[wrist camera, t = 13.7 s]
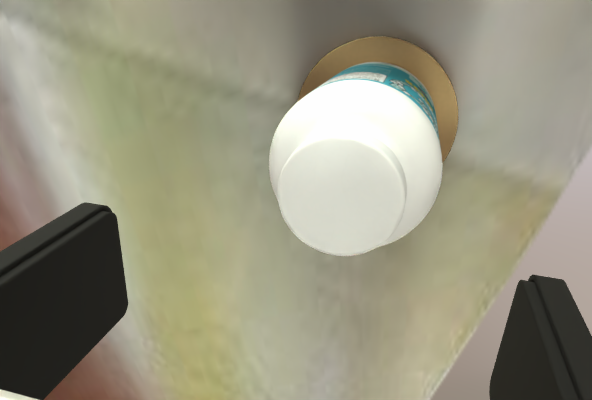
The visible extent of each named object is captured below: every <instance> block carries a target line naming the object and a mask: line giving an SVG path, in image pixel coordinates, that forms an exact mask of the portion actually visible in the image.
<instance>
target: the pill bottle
mask: <svg viewBox="0 0 592 400" xmlns="http://www.w3.org/2000/svg"><path fill="white" fill-rule="evenodd" d="M442 167H443V165H442V154H441V146H440V140H439V133H438V125H437V118H436V112H435V108H434V104H433V101H432V98H431V96H430V94H429V93H428V91H427V89H426V88H425V86H424V85H423V84H422V83H421V82H420V81H419V80H418V79H417V78H416V77H415V76H414V75H413V74H411V73H410V72H409V71H407V70H405V69H403V68H401V67H399V66H396V65H393V64H390V63H385V62H366V63H361V64H357V65H354V66H351V67H349V68H347V69H345V70H343V71H341V72H340V73H338V74H337V75H335V76H334V77H332V78H331V79H329V80H328V81H326V82H325V83H323V84H322V85H320V86H319V87H317V88H316V89H314V90H313V91H311V92H310V93H308V94H307V95H306V96H304V97H303V98H302V99H300V100H299V101H298V102H297V103H296V104H295V105H294V106H293V107H292V108H291V109H290V110H289V111H288V112H287V114H286V115H285V116H284V118H283V119H282V121H281V122H280V124H279V126H278V128H277V130H276V132H275V134H274V137H273V140H272V144H271V148H270V154H269V173H270V179H271V184H272V187H273V191H274V193H275V196H276V198H277V200H278V203H279V208H280V211H281V214H282V216H283V219H284V221H285V222H286V224H287V226H288V227H289V228H290V230H291V231H292V232H293V233H294V234H295V235H296V236H297V238H299V239H300V240H301V241H302V242H303V243H305V244H306V245H308V246H309V247H311V248H313V249H315V250H317V251H320V252H322V253H326V254H330V255H336V256H354V255H359V254H363V253H366V252H369V251H371V250H373V249H375V248H377V247H380V246H384V245H387V244H390V243H392V242H394V241H396V240H398V239H400V238H402V237H403V236H405V235H406V234H408V233H409V232H410V231H412V230H413V229H414V228H415V227H416V226H417V225H418V224H419V223H420V222H421V221H422V220H423V219H424V218H425V216H426V215H427V214H428V212H429V211H430V209H431V208H432V206H433V204H434V202H435V200H436V198H437V195H438V192H439V189H440V185H441V180H442Z"/></svg>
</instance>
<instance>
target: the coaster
mask: <svg viewBox="0 0 592 400" xmlns="http://www.w3.org/2000/svg"><path fill="white" fill-rule="evenodd" d="M366 62H385V63H390V64H393V65H396V66H399V67H401V68H403V69H405V70H407V71H409V72H410V73H411V74H413V75H414V76H415V77H416V78H417V79H418V80H419V81H420V82H421V83H422V84H423V85H424V86H425V88H426V89H427V91H428V93H429V94H430V96H431V98H432V101H433V104H434V108H435V112H436V118H437V125H438V133H439V140H440V146H441V154H442V163H443V162H444V160H445V159H446V157H447V155H448V153H449V152H450V150H451V147H452V145H453V142H454V140H455V136H456V132H457V125H458V106H457V100H456V96H455V92H454V89H453V86H452V84H451V82H450V80H449V78H448V76H447V74H446V73H445V71H444V70H443V68H442V67H441V66H440V64H439V63H438V62H437V61H436V60H435V59H434V58H433V57H432V56H431V55H429V54H428V53H427V52H426V51H424V50H423V49H421V48H419V47H418V46H416V45H414V44H412V43H409V42H407V41H404V40H401V39H397V38H392V37H385V36H373V37H366V38H360V39H357V40H353V41H350V42H348V43H346V44H344V45H341V46H339V47H338V48H336V49H334V50H333V51H331V52H330V53H328V54H327V55H326V56H325V57H323V58H322V59H321V60H320V61H319V62H318V63H317V64H316V65H315V66H314V68H313V69H312V71H311V72H310V73H309V75H308V76H307V78H306V80H305V82H304V84H303V86H302V89H301V91H300V94H299V98H298V101H299V100H300V99H302V98H303V97H304V96H306V95H307V94H308V93H310V92H311V91H313V90H314V89H316V88H317V87H319V86H320V85H322V84H323V83H325V82H326V81H328V80H329V79H331V78H332V77H334V76H335V75H337V74H338V73H340V72H341V71H343V70H345V69H347V68H349V67H351V66H354V65H357V64H361V63H366Z"/></svg>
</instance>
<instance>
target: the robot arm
mask: <svg viewBox="0 0 592 400" xmlns="http://www.w3.org/2000/svg"><path fill="white" fill-rule="evenodd" d="M127 307H128V298H127V291H126V283H125V276H124V268H123V260H122V253H121V245H120V238H119V230H118V223H117V217H116V215H115V214H114V213H112V211H111V209H110V208H109V207H108V206H104V205H98V204H92V203H82V204H80V205H78V206H77V207H75V208H73V209H72V210H70V211H68V212H67V213H65V214H63V215H62V216H60V217H58V218H56V219H55V220H53V221H51V222H50V223H48V224H46V225H45V226H43V227H41V228H40V229H38V230H36V231H34V232H33V233H31V234H29V235H28V236H26V237H24V238H23V239H21V240H19V241H17V242H16V243H14V244H12V245H11V246H9V247H7V248H6V249H4V250H2V251H1V252H0V400H44V398H45V397H46V396H47V395H48V394H49V393H50V392H51V391H52V390H53V389H54V388H55V387H56V386H57V385H58V384H59V383H60V382H61V381H62V380H63V379H64V378H65V377H66V376H67V375H68V373H69V372H70V371H71V370H72V369H73V368H74V367H75V366H76V365H77V364H78V363H79V362H80V361H81V360H82V359H83V358H84V357H85V356H86V355H87V354H88V353H89V352H90V351H91V349H92V348H93V347H94V346H95V345H96V344H97V343H98V342H99V341H100V340H101V339H102V338H103V337H104V336H105V335H106V334H107V333H108V332H109V331H110V330H111V329H112V328H113V327H114V326H115V324H116V323H117V322H118V321H119V320H120V319H121V318H122V317H123V316H124V315H125V313H126V310H127ZM490 400H592V336H591V334H590V332H589V330H588V328H587V326H586V324H585V322H584V320H583V318H582V316H581V313H580V312H579V309H578V307H577V305H576V303H575V301H574V299H573V297H572V295H571V293H570V291H569V289H568V287H567V285H566V283H565V281H564V280H562V279H556V278H550V277H543V276H537V275H532V276H530V278H529V280H528V281H525V280H520V281H519V283H518V285H517V288H516V292H515V295H514V299H513V302H512V306H511V309H510V313H509V316H508V320H507V323H506V327H505V330H504V334H503V337H502V341H501V344H500V348H499V352H498V355H497V359H496V362H495V366H494V369H493V373H492V376H491V381H490Z"/></svg>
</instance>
